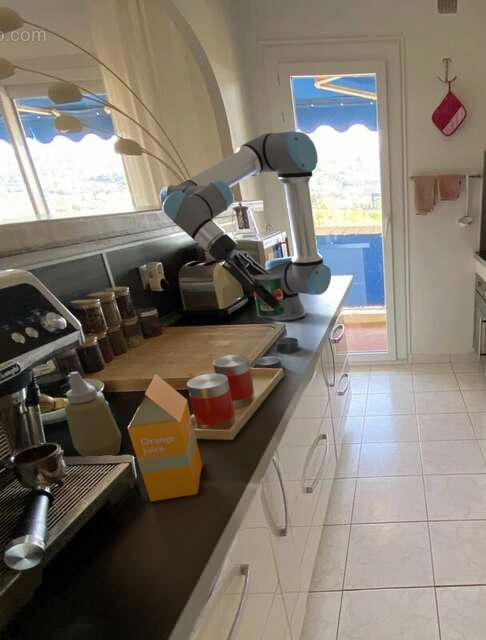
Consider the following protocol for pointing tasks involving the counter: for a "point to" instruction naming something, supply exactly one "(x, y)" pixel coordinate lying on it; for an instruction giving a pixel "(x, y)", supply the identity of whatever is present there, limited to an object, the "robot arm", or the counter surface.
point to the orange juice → (166, 443)
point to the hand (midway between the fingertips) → (281, 301)
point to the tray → (262, 386)
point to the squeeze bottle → (90, 420)
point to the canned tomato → (275, 288)
